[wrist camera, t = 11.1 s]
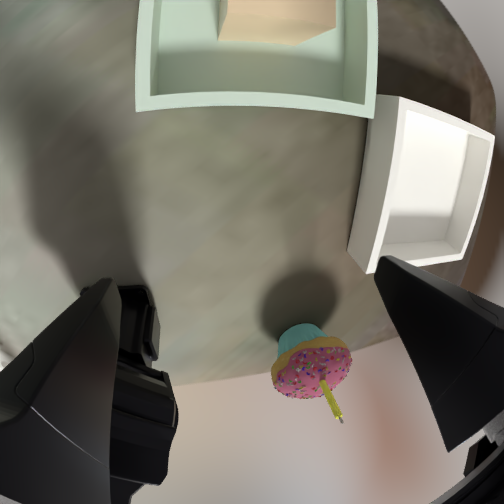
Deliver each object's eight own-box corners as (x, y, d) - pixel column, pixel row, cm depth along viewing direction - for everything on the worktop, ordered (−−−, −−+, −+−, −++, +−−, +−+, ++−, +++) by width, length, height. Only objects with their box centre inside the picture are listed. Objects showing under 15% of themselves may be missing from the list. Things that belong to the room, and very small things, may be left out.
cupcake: (260, 319, 27) (294, 429, 16) (340, 302, 28) (394, 394, 17) (264, 367, 31) (289, 456, 21) (330, 351, 32) (367, 431, 22)
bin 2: (346, 251, 24) (365, 273, 21) (370, 93, 17) (399, 96, 14) (442, 242, 26) (461, 259, 23) (469, 127, 19) (494, 136, 16)
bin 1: (147, 110, 15) (136, 112, 12) (159, -55, 8) (154, -78, 5) (346, 113, 18) (373, 119, 15) (347, -36, 10) (371, -50, 7)
